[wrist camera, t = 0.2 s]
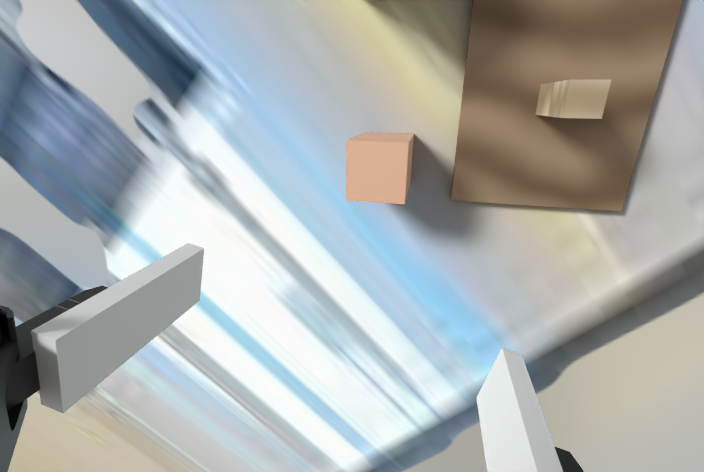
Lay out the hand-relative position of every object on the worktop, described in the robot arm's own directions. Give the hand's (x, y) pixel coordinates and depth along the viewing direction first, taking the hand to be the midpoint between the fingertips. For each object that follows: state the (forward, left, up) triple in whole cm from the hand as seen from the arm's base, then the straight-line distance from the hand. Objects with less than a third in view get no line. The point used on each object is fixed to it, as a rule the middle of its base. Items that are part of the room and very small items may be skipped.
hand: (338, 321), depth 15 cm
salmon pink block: (-3, -1, -26) cm, 27 cm away
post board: (-9, +14, -26) cm, 31 cm away
